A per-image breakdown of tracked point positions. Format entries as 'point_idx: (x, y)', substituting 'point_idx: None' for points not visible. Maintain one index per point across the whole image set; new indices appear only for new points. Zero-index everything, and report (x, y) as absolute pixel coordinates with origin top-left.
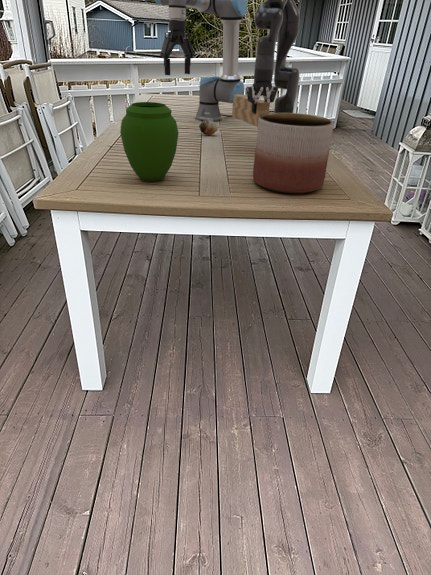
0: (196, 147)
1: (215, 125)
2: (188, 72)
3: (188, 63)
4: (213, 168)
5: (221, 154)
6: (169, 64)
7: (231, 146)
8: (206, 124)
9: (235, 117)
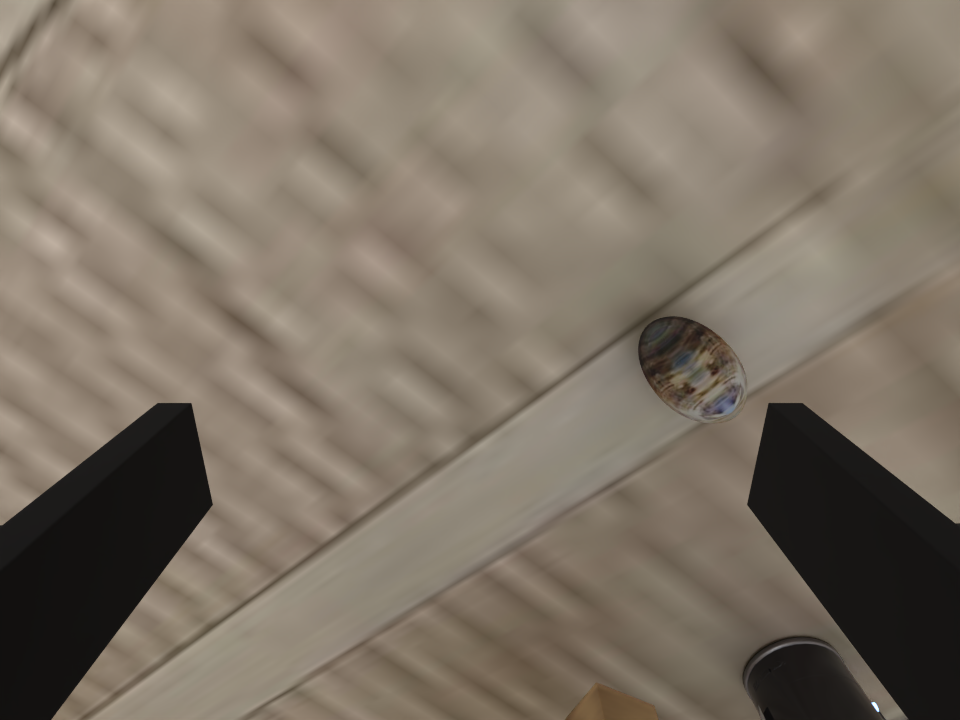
0: (369, 487)
1: (712, 422)
2: (762, 513)
3: (873, 655)
4: (182, 707)
5: (367, 626)
6: (65, 664)
7: (532, 579)
8: (661, 391)
9: (568, 718)
